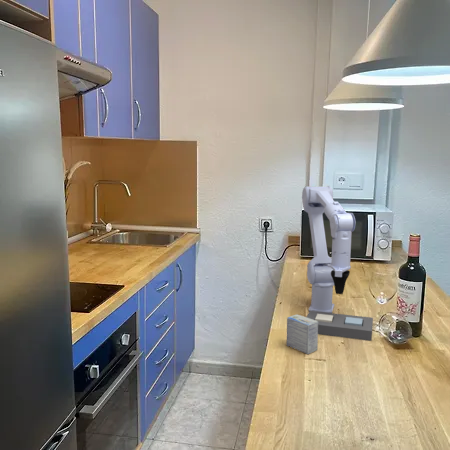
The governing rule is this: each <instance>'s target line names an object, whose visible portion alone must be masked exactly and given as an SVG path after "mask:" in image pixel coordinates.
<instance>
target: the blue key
mask: <svg viewBox="0 0 450 450" xmlns="http://www.w3.org/2000/svg"><path fill="white" fill-rule="evenodd" d="M362 322H363V319H360V318H351V317H346V320H345V324H348V325H356V326H362Z"/></svg>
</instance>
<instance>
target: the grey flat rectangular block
mask: <svg viewBox="0 0 450 450" xmlns="http://www.w3.org/2000/svg"><path fill="white" fill-rule="evenodd" d="M317 314H325V315H333V322H332V323H331V322H322V321H318V335H323V336H330V337H336V338H337V337H339V338H344V339H345V338H347V339H354V340H361V341H370V342H372V338H373V336H372V335H373V324H374V323H373V322H374V317H370V316H361V315H360V316H359V315H353V314H344V313H335V312H332V313H326V312H317V311H309V310H308V313H307V315H306V317H307V318H310V319H313V320H315V318H316V316H317ZM346 317H351V318H360V319H363V322H362V326H356V325H348V324H345V320H346Z"/></svg>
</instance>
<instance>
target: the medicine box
mask: <svg viewBox="0 0 450 450" xmlns="http://www.w3.org/2000/svg"><path fill="white" fill-rule="evenodd" d="M318 336H319V334H318V321H316V320H313V319H310V318H307V316H304V315H301V314H294V315H290V316H288V317H287V318H286V347H289V346H290V347H289V348H291V347H292V349H294V348H295V350H296V349H297V350H296V351H298V352H302V353H304V354H307V355H310V354H312V353H314V352H316V351H318V340H319V339H318V338H319V337H318Z"/></svg>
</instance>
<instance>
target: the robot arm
mask: <svg viewBox="0 0 450 450" xmlns="http://www.w3.org/2000/svg"><path fill="white" fill-rule="evenodd" d="M301 193H302V194H301V200H302V208H303V211H304V212H306V213H307V214H308V215H307V216H308V218H309V219H308V221H309V228H310V234H311V242H312V243H311V244H312V251H313V258H312V259H311V260H309V262H308V263H307V272H306V276H307V280H308V282H309V284H311V300H310V301H311V303H310V305H309V307H308V312H309V311H317V312H326V313H333V311H334V307H335V303H333V291H335V294H336V295H343V294H344V291H345V287H346V282H347V280H348V278H349V276H350V272H351V271H350V270H351V267H352V266H351V252H352V251H351V250H352V232H354V231H355V228H356V223H357V222H356V218H355V215H354V213H353V212H346V210H345V209H344V208H343V206H342V204H341V203H339V201H335V200H334V199H333V198H334V192H333V188H332V187H331V186H330V185H327V186H322V185H321V186H320V185H319V186H307V185H306V186H305V185H304V187H303V188H302V192H301ZM323 214H325V217H327V219H328V220H329V228H330V236H331V237H332V240H331V241H332V242H331V243H332V244H331V257H330V256H329V254H328V248H327V247H328V246H327V240H326V230H325V225H324V216H323Z"/></svg>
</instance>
